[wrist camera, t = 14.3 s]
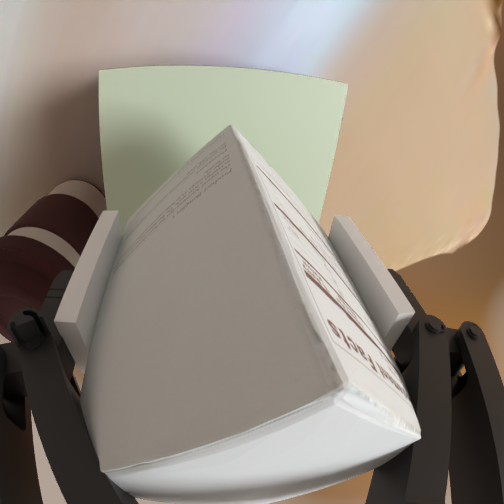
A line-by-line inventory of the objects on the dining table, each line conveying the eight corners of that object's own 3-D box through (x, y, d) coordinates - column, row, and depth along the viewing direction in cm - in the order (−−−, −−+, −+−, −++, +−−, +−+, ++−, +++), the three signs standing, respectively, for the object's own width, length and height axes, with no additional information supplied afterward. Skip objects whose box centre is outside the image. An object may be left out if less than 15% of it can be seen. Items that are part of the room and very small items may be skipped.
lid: (102, 69, 14) (99, 70, 13) (342, 82, 17) (348, 84, 16) (120, 271, 22) (118, 278, 22) (302, 267, 25) (305, 273, 25)
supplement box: (220, 293, 19) (247, 510, 9) (124, 217, 15) (59, 480, 5) (321, 221, 17) (436, 443, 7) (234, 117, 13) (348, 400, 3)
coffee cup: (35, 235, 28) (-23, 339, 16) (45, 153, 24) (-46, 243, 12) (112, 261, 32) (81, 378, 20) (135, 183, 27) (91, 296, 15)
